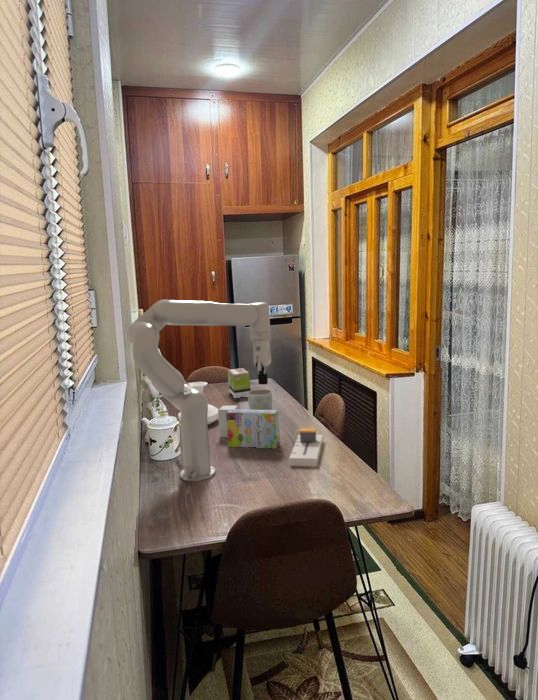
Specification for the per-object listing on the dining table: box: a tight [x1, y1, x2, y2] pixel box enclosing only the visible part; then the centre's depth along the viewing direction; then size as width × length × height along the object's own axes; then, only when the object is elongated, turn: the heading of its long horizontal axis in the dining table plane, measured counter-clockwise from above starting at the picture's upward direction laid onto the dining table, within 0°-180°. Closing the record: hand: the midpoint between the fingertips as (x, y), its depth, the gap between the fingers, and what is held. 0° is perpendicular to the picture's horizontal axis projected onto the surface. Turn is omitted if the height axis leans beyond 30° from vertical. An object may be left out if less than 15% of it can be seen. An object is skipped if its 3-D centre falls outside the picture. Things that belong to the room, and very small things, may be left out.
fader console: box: [289, 433, 324, 467], centre depth 193 cm, size 26×10×3 cm, turn 169°
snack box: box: [226, 408, 281, 450], centre depth 203 cm, size 21×6×15 cm, turn 74°
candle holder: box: [177, 381, 219, 425], centre depth 239 cm, size 20×20×19 cm
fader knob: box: [299, 427, 317, 442], centre depth 197 cm, size 4×6×5 cm, turn 79°
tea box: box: [227, 367, 252, 399], centre depth 288 cm, size 15×10×15 cm, turn 17°
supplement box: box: [218, 405, 239, 438], centre depth 219 cm, size 7×7×13 cm
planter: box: [247, 388, 273, 410], centre depth 251 cm, size 12×12×11 cm
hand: (263, 383), depth 187 cm, fingers closed
